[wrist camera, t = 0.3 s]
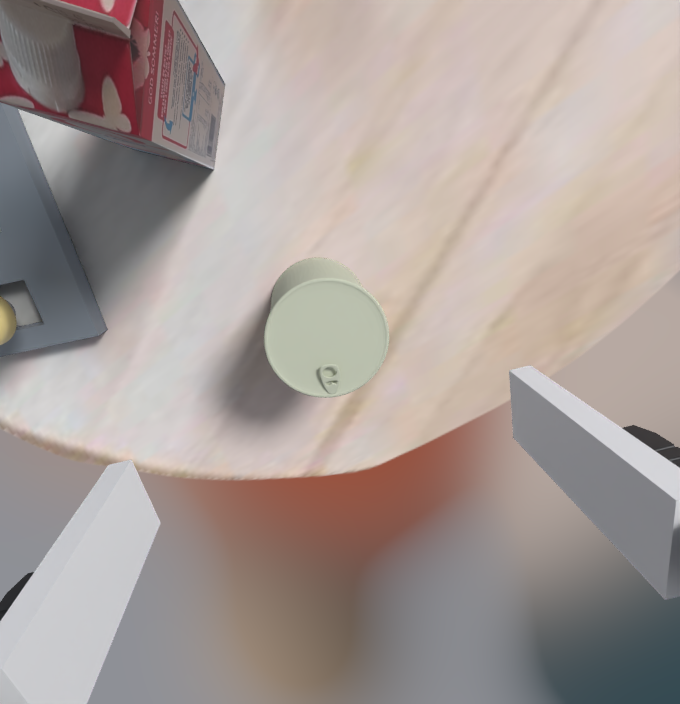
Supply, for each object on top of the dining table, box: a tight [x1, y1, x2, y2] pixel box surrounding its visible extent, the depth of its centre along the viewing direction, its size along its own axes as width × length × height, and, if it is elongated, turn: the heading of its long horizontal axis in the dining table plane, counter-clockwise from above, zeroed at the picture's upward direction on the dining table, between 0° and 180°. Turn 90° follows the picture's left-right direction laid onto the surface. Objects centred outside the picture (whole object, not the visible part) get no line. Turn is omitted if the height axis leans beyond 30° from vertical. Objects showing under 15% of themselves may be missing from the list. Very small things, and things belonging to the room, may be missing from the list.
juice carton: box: [0, 0, 225, 170], centre depth 24 cm, size 7×7×22 cm
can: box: [264, 258, 389, 398], centre depth 35 cm, size 9×9×12 cm
